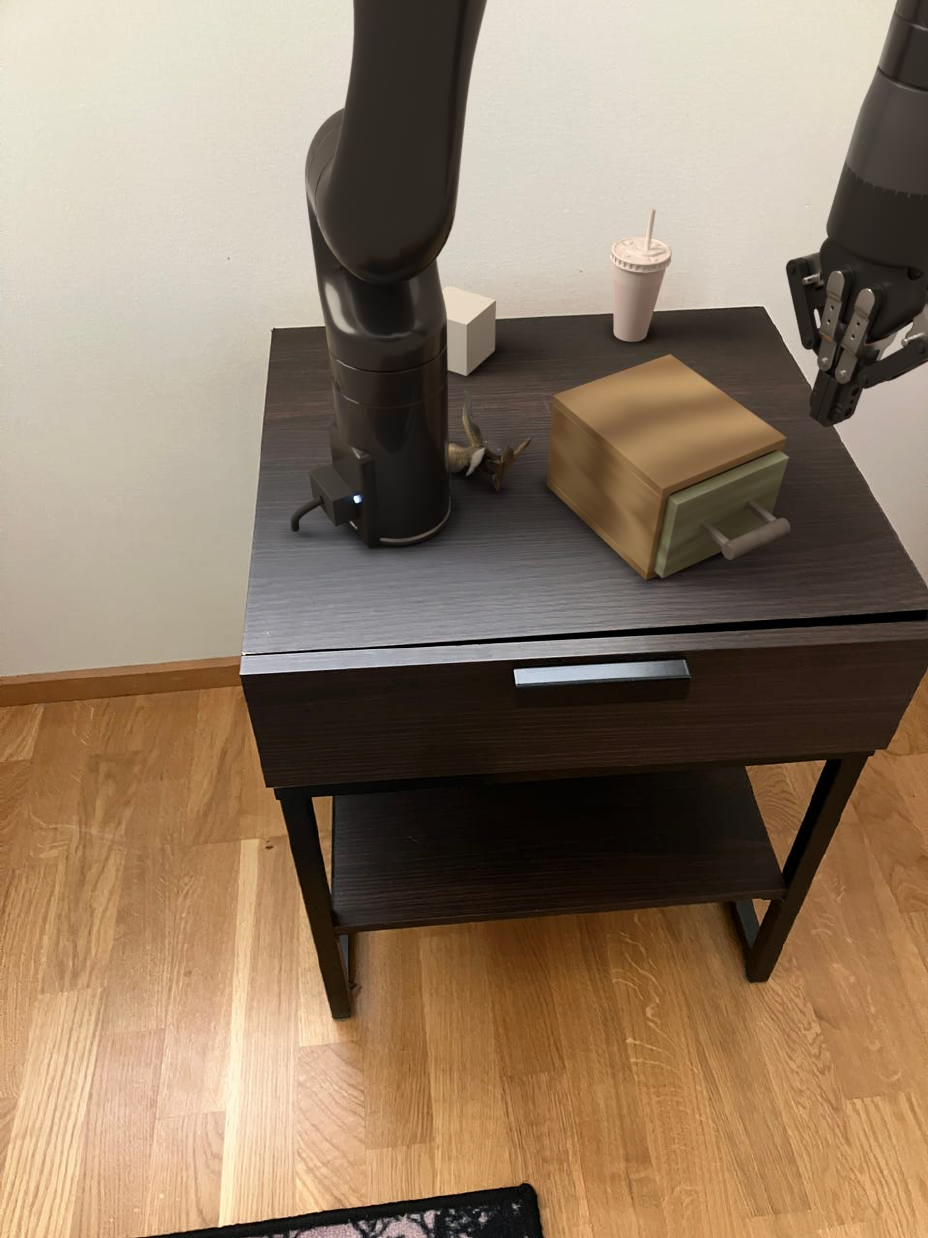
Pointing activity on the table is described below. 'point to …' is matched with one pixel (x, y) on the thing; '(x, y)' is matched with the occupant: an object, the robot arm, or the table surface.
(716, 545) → the drawer
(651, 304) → the smoothie
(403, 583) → the table surface
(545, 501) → the table surface
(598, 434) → the cabinet
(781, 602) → the table surface
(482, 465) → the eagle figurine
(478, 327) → the white cube
